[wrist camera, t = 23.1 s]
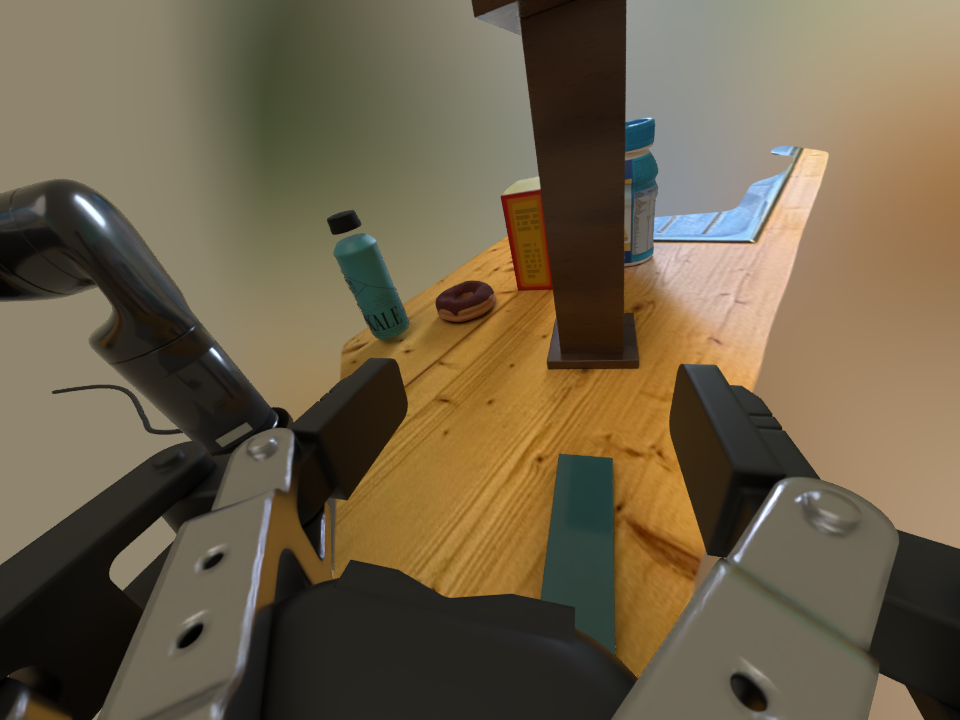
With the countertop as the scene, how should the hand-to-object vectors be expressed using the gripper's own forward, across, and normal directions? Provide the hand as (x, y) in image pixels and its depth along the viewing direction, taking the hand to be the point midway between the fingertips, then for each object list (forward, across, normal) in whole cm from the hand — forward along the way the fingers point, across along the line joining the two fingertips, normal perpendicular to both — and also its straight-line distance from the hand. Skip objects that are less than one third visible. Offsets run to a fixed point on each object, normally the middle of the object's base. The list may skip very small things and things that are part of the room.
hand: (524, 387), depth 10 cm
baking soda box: (+54, -5, -12) cm, 56 cm away
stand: (+31, +3, -15) cm, 35 cm away
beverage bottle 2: (+58, +9, -10) cm, 59 cm away
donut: (+45, -17, -15) cm, 50 cm away
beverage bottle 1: (+38, -28, -17) cm, 50 cm away
